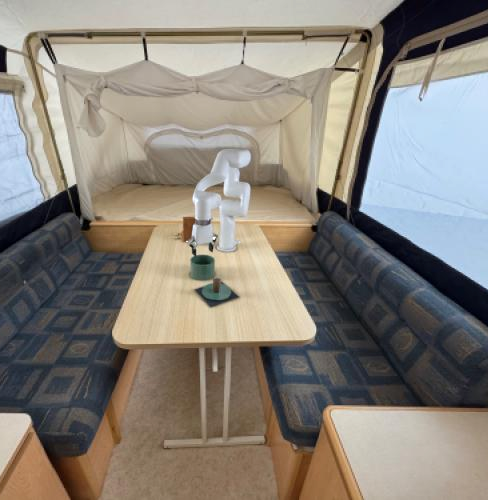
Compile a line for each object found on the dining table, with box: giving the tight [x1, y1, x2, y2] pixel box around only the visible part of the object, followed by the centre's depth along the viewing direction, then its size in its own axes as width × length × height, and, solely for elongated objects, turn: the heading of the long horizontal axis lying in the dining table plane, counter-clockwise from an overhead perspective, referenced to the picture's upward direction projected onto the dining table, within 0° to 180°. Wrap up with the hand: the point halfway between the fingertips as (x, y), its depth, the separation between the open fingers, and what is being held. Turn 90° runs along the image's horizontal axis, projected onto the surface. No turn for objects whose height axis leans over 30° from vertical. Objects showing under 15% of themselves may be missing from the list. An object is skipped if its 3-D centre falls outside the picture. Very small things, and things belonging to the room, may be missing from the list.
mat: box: [194, 281, 240, 308], centre depth 125 cm, size 15×15×1 cm
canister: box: [189, 254, 216, 281], centre depth 139 cm, size 13×13×8 cm
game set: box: [174, 215, 214, 243], centre depth 183 cm, size 28×22×19 cm
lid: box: [202, 277, 232, 300], centre depth 123 cm, size 14×14×7 cm
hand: (202, 253), depth 136 cm, fingers open, 9 cm apart
